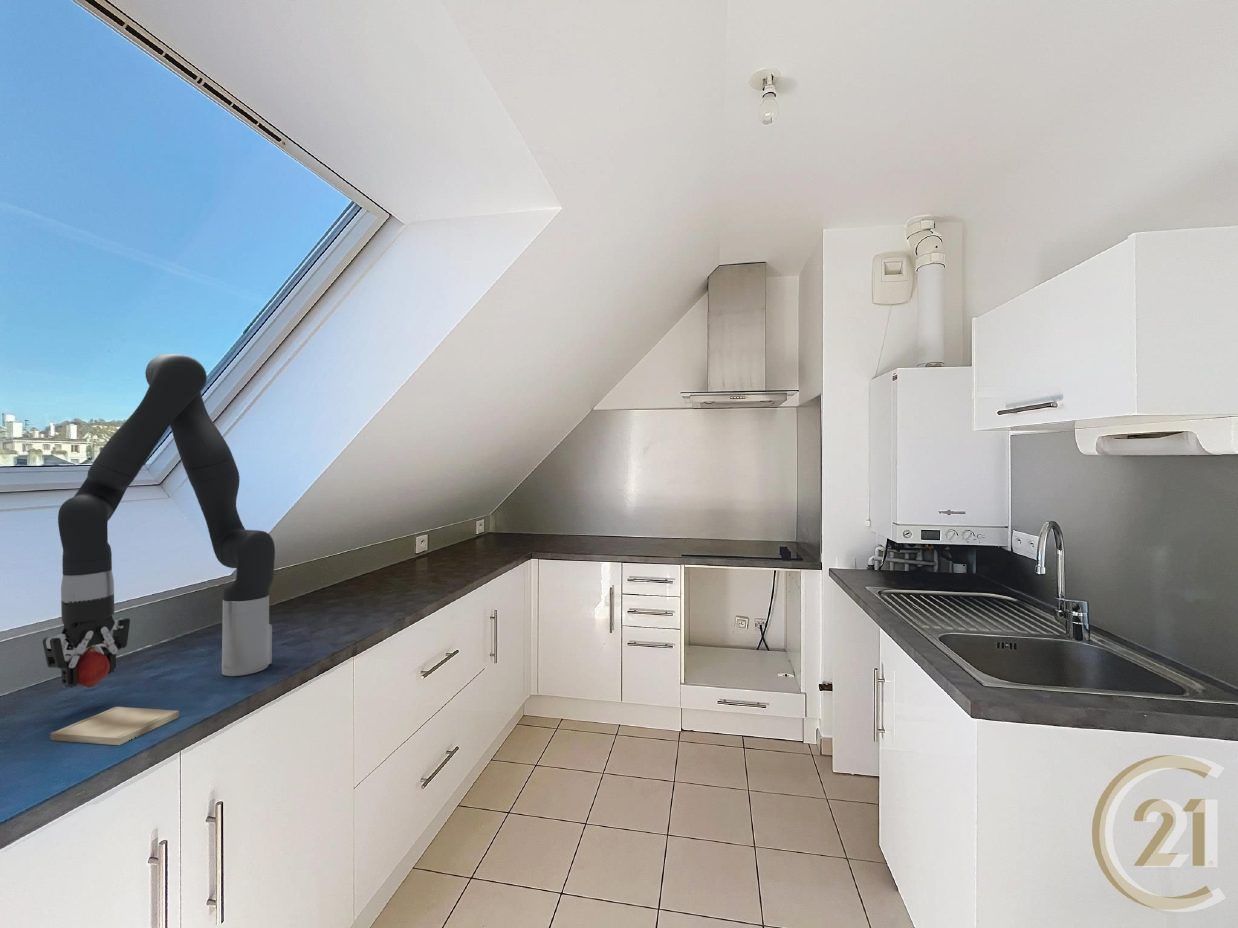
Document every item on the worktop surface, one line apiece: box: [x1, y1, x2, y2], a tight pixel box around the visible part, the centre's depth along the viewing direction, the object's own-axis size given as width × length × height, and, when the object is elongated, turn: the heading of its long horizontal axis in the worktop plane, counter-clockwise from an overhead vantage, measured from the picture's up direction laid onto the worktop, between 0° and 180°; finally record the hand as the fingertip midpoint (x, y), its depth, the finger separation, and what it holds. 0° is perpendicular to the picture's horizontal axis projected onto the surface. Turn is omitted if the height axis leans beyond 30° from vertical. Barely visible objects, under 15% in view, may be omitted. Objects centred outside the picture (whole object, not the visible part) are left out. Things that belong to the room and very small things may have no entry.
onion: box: [75, 646, 110, 688], centre depth 108 cm, size 6×6×8 cm
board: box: [50, 706, 180, 746], centre depth 100 cm, size 11×14×1 cm
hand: (89, 679), depth 108 cm, fingers closed on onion, 6 cm apart
